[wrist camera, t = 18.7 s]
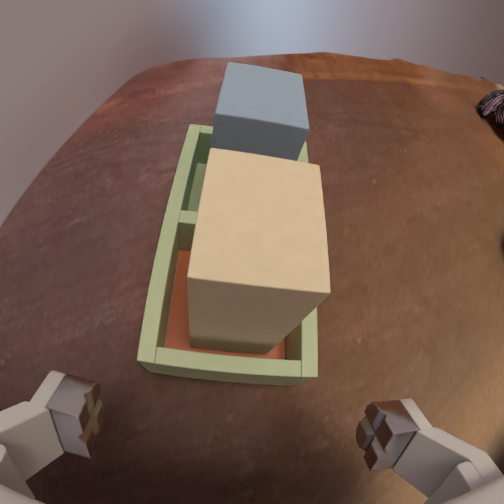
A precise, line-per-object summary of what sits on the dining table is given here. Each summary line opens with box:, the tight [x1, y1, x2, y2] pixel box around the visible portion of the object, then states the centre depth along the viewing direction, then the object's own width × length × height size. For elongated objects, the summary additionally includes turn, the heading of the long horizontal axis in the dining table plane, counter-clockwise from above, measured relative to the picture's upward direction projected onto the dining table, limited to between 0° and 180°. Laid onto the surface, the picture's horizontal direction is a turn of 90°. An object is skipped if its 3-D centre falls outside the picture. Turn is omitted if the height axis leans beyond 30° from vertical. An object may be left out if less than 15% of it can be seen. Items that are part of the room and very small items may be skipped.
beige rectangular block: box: [187, 148, 330, 355], centre depth 14 cm, size 4×5×9 cm
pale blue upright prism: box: [211, 62, 309, 161], centre depth 18 cm, size 4×5×9 cm
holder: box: [137, 124, 318, 386], centre depth 19 cm, size 8×15×4 cm, turn 177°
